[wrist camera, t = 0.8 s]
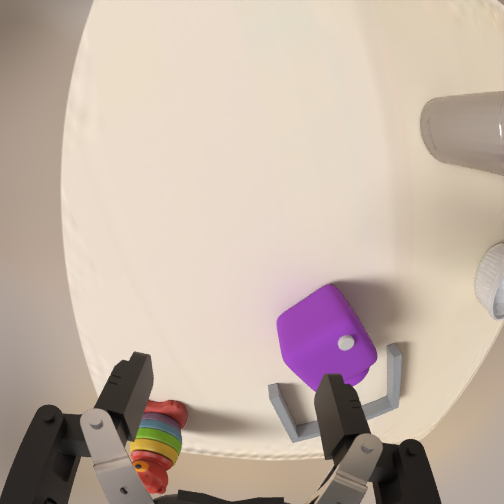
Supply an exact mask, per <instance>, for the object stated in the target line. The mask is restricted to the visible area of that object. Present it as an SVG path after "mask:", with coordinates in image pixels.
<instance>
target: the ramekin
mask: <svg viewBox="0 0 504 504" xmlns="http://www.w3.org/2000/svg"><path fill="white" fill-rule="evenodd" d="M474 287H475V294H476V297H477V299H478V300H479V302H480V303H481V304H482V305H483V306H484V307H485V309H486V310H487V311H488V312H489V314H490V316H491V317H492V318H493V319H495V320H496V321H502V320H504V243H499V244H496V245H495V246H493V247H491V248H490V249H489V250H488V251H487V252H486V253H485V255H484V256H483V258H482V260H481V261H480V264H479V266H478V268H477V271H476V275H475V282H474Z"/></svg>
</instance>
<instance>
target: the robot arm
mask: <svg viewBox="0 0 504 504" xmlns="http://www.w3.org/2000/svg"><path fill="white" fill-rule="evenodd" d="M421 132H422V137H423V140H424V143H425V145H426V147H427V149H428V150H429V152H430V153H431V154H432V155H433V156H434V157H435V158H436V159H437V160H439V161H441V162H444V163H448V164H454V165H459V166H463V167H468V168H473V169H478V170H482V171H487V172H491V173H495V174H499V175H503V176H504V91H499V92H485V93H473V94H464V95H456V96H447V97H440V98H435V99H432V100H430V101H429V102H428V103H427V104H426V105H425V107H424V109H423V111H422V115H421ZM153 379H154V378H153V370H152V362H151V356H150V355H149V354H144V353H139V352H133V354H132V356H131V358H130V360H129V361H126V360H122V361H121V362H119V363H118V364H117V365H116V366H115V367H114V369H113V371H112V373H111V376H109V378H108V380H107V383H106V384H105V386H104V388H103V390H102V392H101V394H100V396H99V398H98V401H97V403H96V405H95V407H94V408H93V409H89V410H87V411H86V412H84V413H83V414H81V415H76V414H63V413H62V412H61V410H60V409H59V408H57V407H56V406H53V405H44V406H42V407H40V408H39V409H38V410H37V412H36V414H35V416H34V418H33V420H32V422H31V424H30V426H29V428H28V430H27V432H26V434H25V436H24V438H23V441H22V443H21V445H20V447H19V450H18V452H17V454H16V457H15V459H14V462H13V464H12V467H11V469H10V472H9V474H8V477H7V480H6V483H5V486H4V488H3V491H2V494H1V498H0V504H68V500H69V496H70V493H71V489H72V485H73V482H74V478H75V475H76V472H77V468H78V465H79V462H80V459H81V456H82V457H92V459H93V462H94V466H93V467H94V470H95V472H96V475H97V478H98V480H99V482H100V484H101V487H102V489H103V491H104V493H105V495H106V497H107V499H108V501H109V503H110V504H290V503H286V502H284V498H283V497H272V498H262V497H260V498H259V497H258V498H253V499H247V500H241V501H234V502H230V501H226V500H223V499H219V498H216V497H213V496H210V495H207V494H203V493H197V492H190V491H183V490H178V494H172V495H165V496H161V497H158V498H156V499H154V500H153V499H152V497H151V496H150V494H149V492H148V491H147V489H146V487H145V486H144V484H143V482H142V480H141V479H140V477H139V475H138V473H137V471H136V469H135V468H134V466H133V464H132V462H131V460H130V458H129V456H128V454H127V452H126V450H125V445H126V442H127V440H128V441H132V442H135V438H136V435H137V432H138V429H139V426H140V423H141V420H142V417H143V414H144V411H145V408H146V405H147V402H148V399H149V396H150V393H151V390H152V387H153ZM314 405H315V410H316V415H317V420H318V425H319V430H320V435H321V440H322V446H323V451H324V456H325V460H329V459H333V461H334V465H333V466H332V468H331V469H330V471H329V472H328V474H327V475H326V477H325V478H324V480H323V481H322V483H321V484H320V485H319V487H318V488H317V490H316V491H315V492H314V494H313V495H312V496H311V497H310V498H309V499H308V501H307V502H306V503H305V504H360V503H361V500H362V499H363V497H364V495H365V493H366V491H367V488H368V487H367V486H366V484H367V482H372V483H373V488H374V494H375V499H376V504H441V500H440V497H439V493H438V490H437V486H436V483H435V480H434V477H433V474H432V471H431V467H430V464H429V461H428V458H427V456H426V453H425V450H424V447H423V446H422V444H421V443H420V442H419V441H417V440H414V439H407V440H405V441H403V442H402V443H401V444H400V445H395V444H387V443H382V442H381V440H380V439H379V438H378V437H377V436H375V435H373V434H371V432H370V429H369V426H368V423H367V420H366V417H365V414H364V411H363V409H362V406H361V403H360V401H359V397H358V394H357V392H356V390H355V389H354V388H353V387H352V386H351V385H350V384H345V383H344V380H343V377H342V375H341V374H340V373H325V374H324V375H323V377H322V380H321V382H320V384H319V387H318V389H317V391H316V394H315V398H314Z"/></svg>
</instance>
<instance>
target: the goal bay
mask: <svg viewBox="0 0 504 504" xmlns="http://www.w3.org/2000/svg"><path fill="white" fill-rule="evenodd" d="M401 368H402V353H401V352H400V350H399V349H398V347H397V346H396V344H395V343H393V344H391V345H389V346H387V396H386V397H383V398H381V399H379V400H376V401H374V402H371V403H368V404H366V405H363V406H362V409H363V411H364V414H365V417H366V420H369V419H372V418H374V417H377V416H379V415H382V414H384V413H386V412H389V411H391V410H394V409H396V408H398V406H399V396H400V384H401ZM268 389H269V399H270V401H271V403H272V405H273V407H274V409H275V411H276V412H277V414H278V416H279V418H280V420H281V422H282V424H283V426H284V428H285V429H286V431H287V433H288V435H289V437H290V439H291V441H292V442H293V443H294V442H298V441H302V440H306V439H310V438H313V437H317V436H321V435H320V430H319V425H318V421H314V422H311V423H307V424H303V425H299V426H296V424H295V422H294V420H293V417H292V415H291V413H290V411H289V409H288V406H287V404H286V402H285V400H284V398H283V395H282V393H281V391H280V389H279V386H278V384H277V383H276V384H272V385H268Z"/></svg>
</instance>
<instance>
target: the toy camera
mask: <svg viewBox="0 0 504 504" xmlns="http://www.w3.org/2000/svg"><path fill="white" fill-rule="evenodd" d="M277 331H278V337H279V342H280V348H281V353H282V357H283V360H284V362H285V364H286V365H287V366H288V367H289V368H290V369H291V370H292V371H293V372H294V373H295V374H296V375H297V376H298V377H299V378H300V379H302V380H303V381H304V382H305V383H306V384H307V385H308V386H309V387H310V388H311V389H313V390H314V391H315V392H316V391H317V389H318V387H319V384H320V382H321V380H322V377H323V375H324V374H325V373H340V374H341V375H342V377H343V380H344V383H345V384H350V385H351V386H354V385H356V384H358V383H359V382H361V381H362V380H363V379H364V377H365V376H366V375H367V373H368V371H369V368H370V366H371V365H373V364H374V363H375V362H376V360H377V352H376V349H375V346H374V344H373V343H372V341H371V339H370V337H369V336H368V334H367V332H366V330H365V329H364V327H363V325H362V324H361V322H360V320H359V319H358V317H357V316H356V314H355V313H354V311H353V310H352V308H351V307H350V305H349V304H348V302H347V301H346V299H345V298H344V296H343V295H342V294H341V292H340V291H339V290H338V289H337V288H336V287H335V286H333V285H330V284H329V285H325V286H323V287H322V288H320V289H318V290H317V291H315V292H314V293H312V294H311V295H309V296H308V297H306V298H305V299H303V300H302V301H300V302H299V303H297V304H296V305H294V306H293V307H291V308H290V309H288V310H287V311H285V312H284V313H283V314H281V315H280V316H279V317H278V319H277Z"/></svg>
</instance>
